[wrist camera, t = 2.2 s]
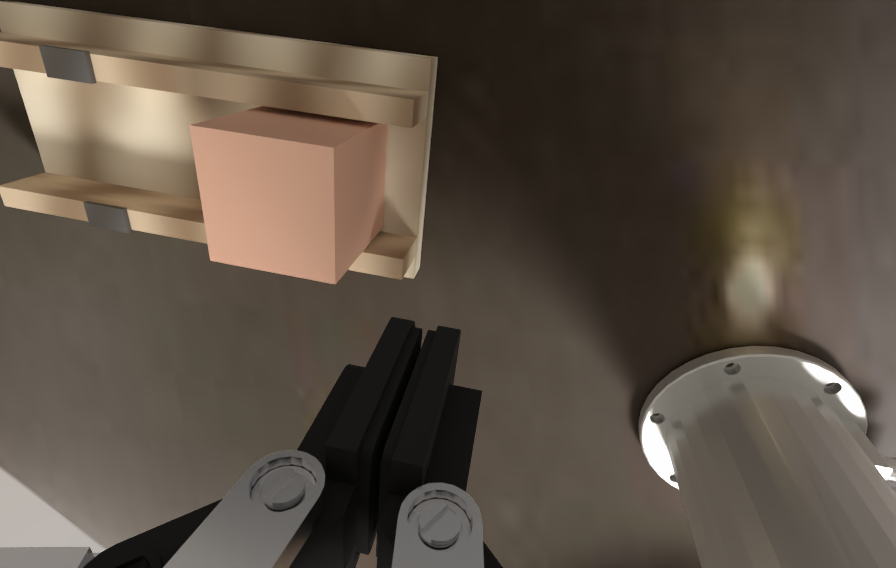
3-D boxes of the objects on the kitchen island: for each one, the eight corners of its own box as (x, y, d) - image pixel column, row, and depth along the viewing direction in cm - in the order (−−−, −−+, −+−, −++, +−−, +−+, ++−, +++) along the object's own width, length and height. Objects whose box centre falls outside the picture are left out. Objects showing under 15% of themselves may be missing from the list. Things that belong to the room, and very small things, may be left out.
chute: (437, 57, 24) (414, 62, 20) (419, 267, 30) (398, 306, 25) (19, 2, 26) (-80, -4, 22) (78, 205, 32) (8, 231, 28)
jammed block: (387, 118, 24) (333, 147, 18) (383, 227, 27) (335, 284, 21) (277, 102, 25) (189, 125, 19) (284, 210, 28) (210, 260, 22)
